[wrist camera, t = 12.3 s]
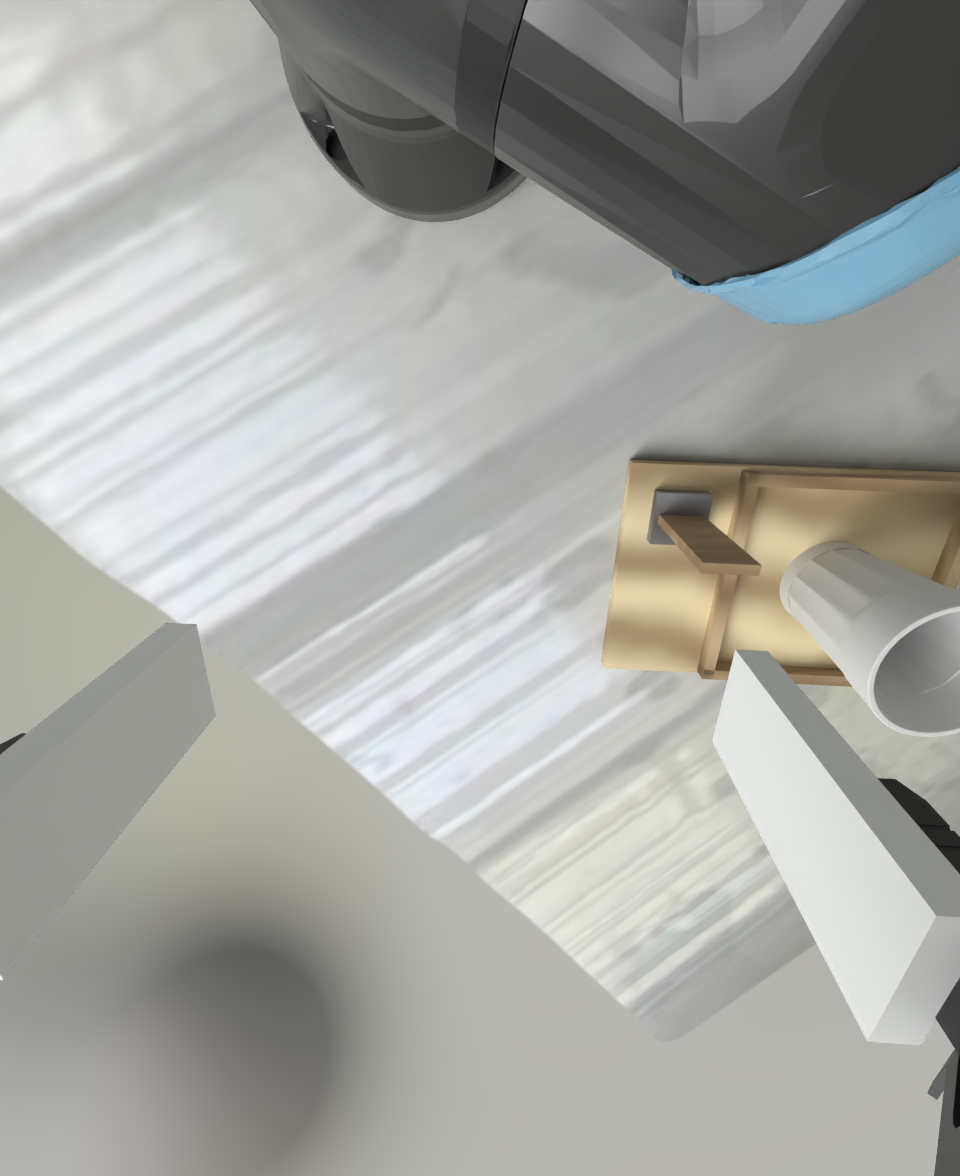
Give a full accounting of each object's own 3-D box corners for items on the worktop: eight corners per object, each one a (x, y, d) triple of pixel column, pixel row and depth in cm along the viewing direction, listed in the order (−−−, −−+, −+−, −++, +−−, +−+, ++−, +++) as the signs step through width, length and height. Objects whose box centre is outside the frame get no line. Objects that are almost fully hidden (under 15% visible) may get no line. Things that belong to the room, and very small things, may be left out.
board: (629, 459, 37) (675, 501, 27) (973, 472, 36) (1155, 520, 26) (601, 659, 44) (629, 754, 33) (893, 674, 43) (1014, 776, 33)
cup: (899, 530, 37) (1065, 605, 26) (867, 633, 40) (1002, 738, 29) (780, 529, 37) (893, 603, 26) (758, 631, 41) (850, 735, 30)
